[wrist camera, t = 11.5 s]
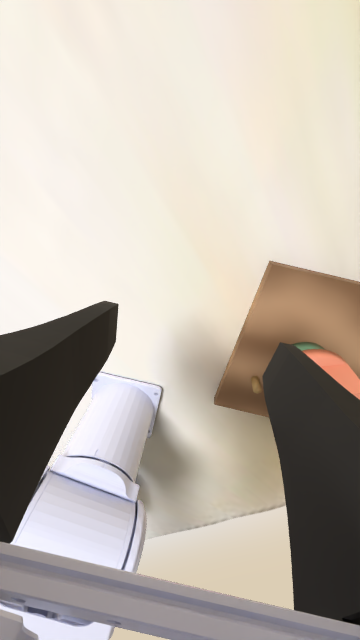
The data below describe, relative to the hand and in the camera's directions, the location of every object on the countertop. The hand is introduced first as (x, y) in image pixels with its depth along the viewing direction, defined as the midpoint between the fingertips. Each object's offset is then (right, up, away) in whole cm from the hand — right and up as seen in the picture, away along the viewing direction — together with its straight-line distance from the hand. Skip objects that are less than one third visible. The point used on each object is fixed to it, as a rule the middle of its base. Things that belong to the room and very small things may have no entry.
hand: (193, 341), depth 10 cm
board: (+11, -2, +12) cm, 16 cm away
